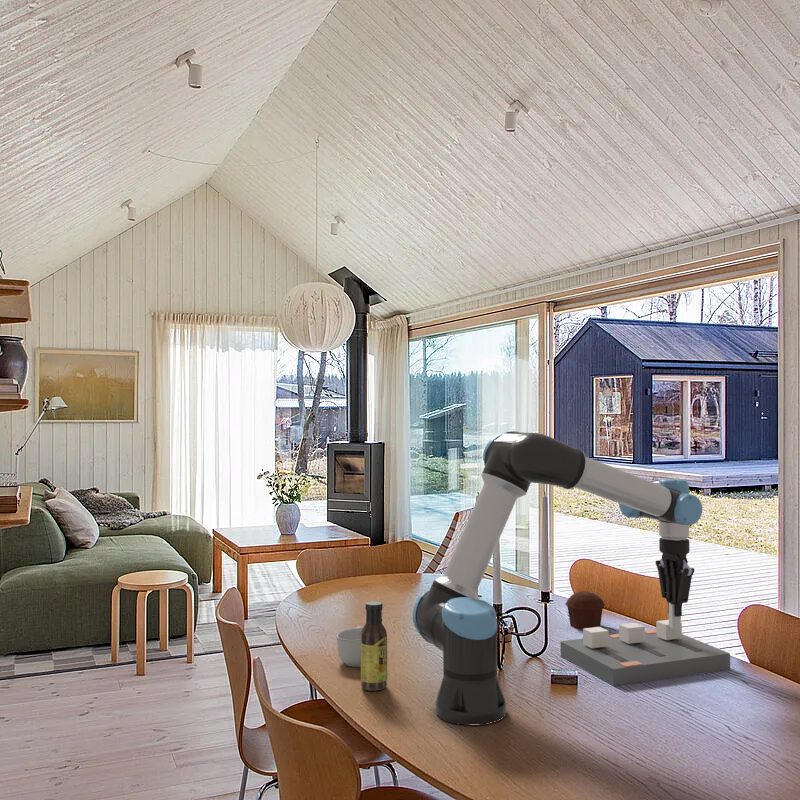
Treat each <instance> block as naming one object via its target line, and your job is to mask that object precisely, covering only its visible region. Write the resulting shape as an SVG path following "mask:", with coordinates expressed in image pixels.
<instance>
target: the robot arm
mask: <svg viewBox="0 0 800 800" xmlns="http://www.w3.org/2000/svg"><path fill="white" fill-rule="evenodd" d="M482 453H483V455H482V461H483V463H484V467H483V470H482V473H481V474H480V475H481V478H482V481H483V486H482V488H481V490H480V492H479V494H478V497H477V499H476V501H475V503H474V505H473V508H472V509H471V513H470V514H469V517H468V519H467V521H466V524H465V526H464V528H463V530H462V533H461V535H460V537H459V539H458V540H457V541H458V542H457V544H456V545H455V548H454V551H453V553H452V555H451V558H450V559H449V562H448V564H447V566H446V568H445V571H444V572H443V575H442V576H439V577H437V578H434V580H433V582H432V584H431V585H430V588H429V590H427V591H426V592H423V593H421V594H420V596H419V597H418V598H417V599H416V601H415V602H414V605H413V609H412V621H413V625H414V628H415V630H416V631H417V633H418V634H419V635H420V637H421V638H422V639H423V640H424V641H426V642H427V643H429V644H430V645H433V646H435V647H436V648H437V649H439V650H440V651H442V660H443V661H442V662H443V663H442V664H443V665H442V666H443V669H442V671H443V674H442V675H443V676H442V679H441V683H440V687H439V690H438V692H437V696H436V699H435V714H436V716H437V715H438V716H439V717H438V718H440V719H441V720H442V721H445V720H446V722H447V721H449V722H448V723H450V722H452V723H451V724H454V723H459V724H486V723H490V722H494V721H497V720H499V719H501V718H502V717H504V715H505V714H506V715H507V706H506V705H507V704H506V699H505V697H504V693H503V691H502V690H503V689H502V687H501V684H500V681H499V677H498V625H499V624H498V620H497V619H498V618H497V612H496V609H495V608H494V606H493V605H491V603H489V602H487V601H485V600H483V599H480V598H479V595H478V589H479V587H480V585H481V582H482V580H483V577H484V575H485V573H486V571H487V568H488V566H489V563H490V561H491V560H492V557H493V554H494V552H495V551H496V550H495V549H496V547H497V545H498V543H499V541H500V539H501V537H502V534H503V532H504V529H505V528H506V525H507V522H508V521H509V518H510V515H511V513H512V511H513V509H514V507H515V505H516V502H517V500H518V499H519V498H521V497H524V496H526V495H527V493H528V491H529V488H530V486H531V484H543V485H548V486H549V485H551V486H556V487H559V488H562V489H565V490H572V489H574V488H575V489H578V490H581V491H584V492H587V493H590V494H592V495H595V496H598V497H601V498H603V499H606V500H610V501H612V502H615V503H618V507H619V510H620V512H621V513H622V515H623V516H625V517H626V518H634V519H638V518H646V519H650V520H657V521H658V535H659V536H660V537H659V539H658V547H659V549H658V550H659V551H660V552H661V554H662V555H661V558H660V559H659V560H658V559H657V560H655V563H654V564H655V566H656V568H657V571H658V579H659V585H660V591H661V593H660V594H661V597H662V598H663V599H665V600H666V602H667V614H668V620H669V628H671V629H677V628H681V623H682V615H683V613H682V612H683V611H682V610H683V606H682V605H683V604H685V603H688V601H689V596H690V592H691V591H690V590H691V584H692V577H693V575H694V573H695V568H694V567H690V565H689V564H688V563H689V562H688V558H687V555H688V554H689V553H690V540H689V537H690V526H692V525H695V524H697V523H698V521H700V520H701V517H702V515H703V514H702V513H703V504H702V502H701V499H700V498H699V497H697V496H696V495H694V494H690V488H689V487H690V486H689V482H688V480H687V479H683V478H671V477H670V478H661V479H659V481H658V483H656V482H653V481H650V480H647V479H646V478H643V477H640V476H638V475H635V474H633V473H630V472H628V471H624V470H622V469H618V467H617V468H616V467H614V466H611V465H608V464H606V463H603V462H600V461H598V460H595V459H593V458H590V457H587V456H586V453H585V452H584V451H583V450H582V449H579V448H576V447H575V446H574V447H573V446H572V445H569V444H567V443H565V442H562V441H560V440H558V439H555V438H554V437H551V436H549V435H546V434H544V433H538V432H519V431H516V430H513V431H506V432H501V433H499V434H496V435H494V436H493V437H492V438H491V439H489V440H488V442H487V444H486V445H485V447H484V450H483V452H482ZM506 715H505V716H506ZM504 718H505V717H504ZM501 720H502V719H501ZM497 722H498V721H497ZM459 724H458V725H459ZM486 725H487V724H486Z"/></svg>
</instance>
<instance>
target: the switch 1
mask: <svg viewBox="0 0 800 800" xmlns="http://www.w3.org/2000/svg"><path fill="white" fill-rule="evenodd" d="M609 635H610V634H609V630H608V629H606V628H603V627H601V626H600V627H593V628H584V629H583V630H582V636H583V637H582V639H583V644H584V645H586V646H588V647H590V648H600V647H608V646H609Z"/></svg>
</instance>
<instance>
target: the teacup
mask: <svg viewBox="0 0 800 800" xmlns="http://www.w3.org/2000/svg"><path fill="white" fill-rule="evenodd" d="M362 629H363V627H362V626H357V627H354V628H353V627H352V628H348V629H344V630H342V631H339V632H338V633H337V634H336V639H337V641H336V644H337V652H338V657H339V659H340V661H341V662H342V663H344V664H345V665H346V666H348V667H351V666H352V668H355V667H356V668H361V632H362Z"/></svg>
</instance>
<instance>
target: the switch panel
mask: <svg viewBox="0 0 800 800" xmlns="http://www.w3.org/2000/svg"><path fill="white" fill-rule="evenodd" d="M559 643H560V645H559V646H560V657H561V658H562V659H564V660H566V661H568V662H570V663H571V664H574V665H575V666H577V667H578V668H580V669H582V670H584V671H586V672H588V673H589V674H590V675H592V676H594V675H595V676H594V677H596V678H597V679H600V680H601V681H603V682H605V683H607V684H608V685H610V686H612V687H617V686H626V685H630V684H631V685H632V684H638V683H644V682H653V681H658V680H666V679H674V678H680V677H686V676H694V675H701V674H709V673H716V672H720V671H721V672H722V671H728V670H731V653H730V652H728V651H726V650H722V649H720V648H718V647H716V646H713V645H710V644H708V643H705V642H702V641H700V640H698V639H695V638H692V637H690V636H687V635H685V634H683V633H682V638H680V639H672V640H664V639H662V638H660V637H657V636H656V629H651V630H650V629H649V630H648V629H647V630H645V642H640V643H632V644H628V643H626V642H624V641H621V640H620V633H615V634H609V646H608V647H600V648H590V647H588V646H586V645H584V644H583V638H575V639H568V640H560V642H559Z"/></svg>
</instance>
